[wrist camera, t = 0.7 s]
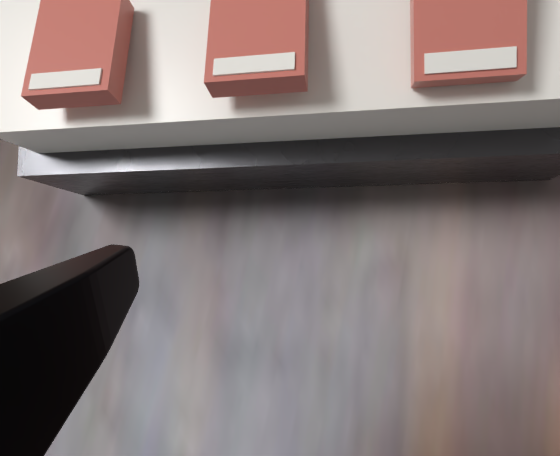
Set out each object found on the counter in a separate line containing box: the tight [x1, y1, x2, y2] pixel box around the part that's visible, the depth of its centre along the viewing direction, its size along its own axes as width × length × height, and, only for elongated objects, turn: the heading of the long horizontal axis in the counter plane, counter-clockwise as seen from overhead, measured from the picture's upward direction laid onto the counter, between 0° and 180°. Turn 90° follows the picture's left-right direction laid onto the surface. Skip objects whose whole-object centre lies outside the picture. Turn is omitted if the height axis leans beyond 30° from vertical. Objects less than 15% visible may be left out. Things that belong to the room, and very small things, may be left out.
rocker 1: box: [21, 0, 134, 110], centre depth 16 cm, size 3×4×1 cm
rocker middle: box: [204, 0, 309, 98], centre depth 15 cm, size 3×4×1 cm
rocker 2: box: [410, 0, 527, 88], centre depth 14 cm, size 3×4×1 cm
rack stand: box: [17, 127, 560, 195], centre depth 22 cm, size 24×9×5 cm, turn 90°
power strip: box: [0, 0, 560, 153], centre depth 18 cm, size 22×7×3 cm, turn 90°
